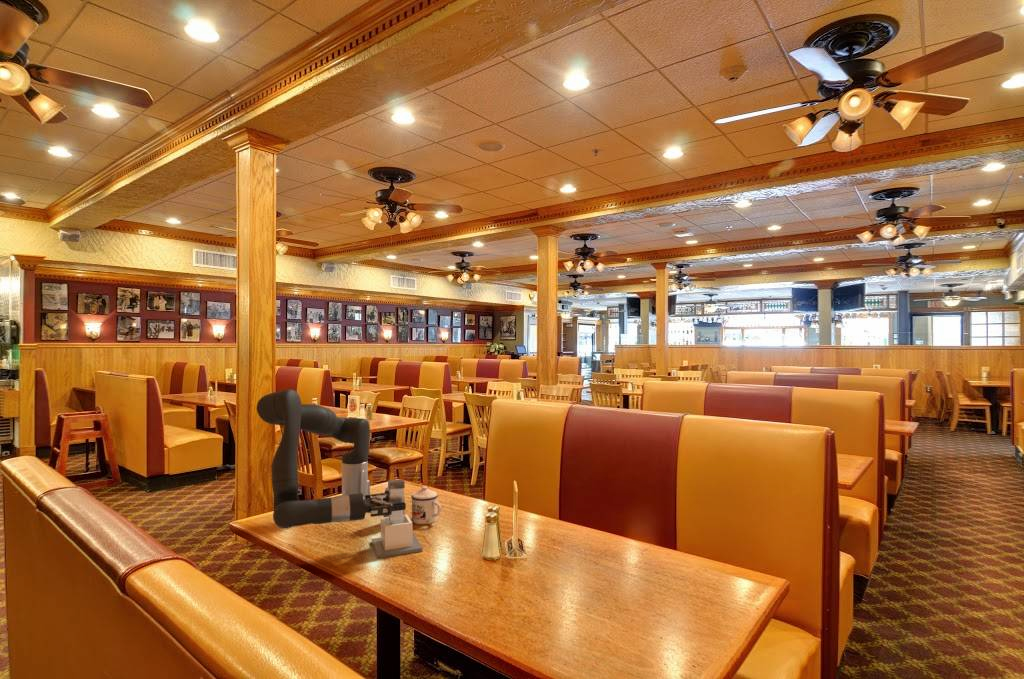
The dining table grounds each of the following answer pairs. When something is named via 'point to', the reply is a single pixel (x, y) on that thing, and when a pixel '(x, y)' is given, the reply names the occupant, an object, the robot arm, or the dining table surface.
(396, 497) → the white grey rectangular bar
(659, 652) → the dining table surface
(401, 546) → the white square socket
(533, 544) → the dining table surface
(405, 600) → the dining table surface
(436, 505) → the teacup with lid
